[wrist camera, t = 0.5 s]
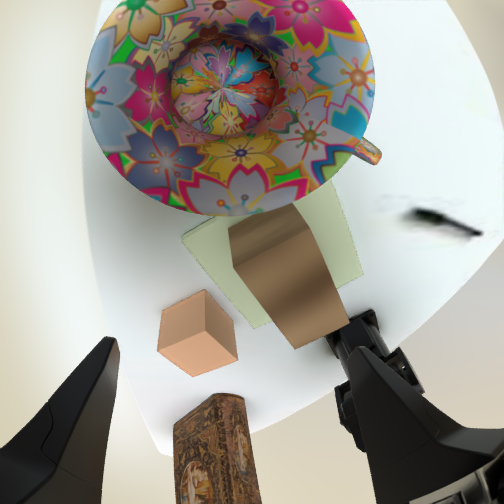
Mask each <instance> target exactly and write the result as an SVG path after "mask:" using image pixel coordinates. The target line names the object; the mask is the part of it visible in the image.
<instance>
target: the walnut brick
mask: <svg viewBox="0 0 504 504" xmlns="http://www.w3.org/2000/svg"><path fill="white" fill-rule="evenodd" d="M228 235H229V242H230V249H231V256H232V263H233V269H234V270H235V271H236V273H237V274H238V275H239V277H240V278H241V279H242V281H243V282H244V283H245V285H246V286H247V287H248V289H249V290H250V291H251V293H252V294H253V295H254V297H255V298H256V299H257V301H258V302H259V303H260V305H261V306H262V307H263V309H264V310H265V311H266V313H267V314H268V315H269V317H270V318H271V319H272V321H273V322H274V323H275V324H276V326H277V327H278V328H279V330H280V331H281V332H282V334H283V335H284V336H285V337H286V339H287V340H288V341H289V343H290V344H291V345H292V346H293V348H294V349H297V348H300V347H302V346H304V345H306V344H308V343H310V342H313V341H315V340H317V339H319V338H321V337H323V336H325V335H327V334H329V333H331V332H333V331H335V330H337V329H339V328H341V327H343V326H345V325H347V324H349V323H350V322H349V319H348V317H347V314H346V312H345V309H344V306H343V304H342V301H341V299H340V296H339V294H338V291H337V289H336V287H335V284H334V282H333V279H332V277H331V274H330V272H329V270H328V267H327V265H326V263H325V260H324V258H323V256H322V253H321V251H320V249H319V247H318V244H317V242H316V240H315V238H314V235H313V233H312V231H311V229H310V227H309V226H308V224H307V223H306V221H305V220H304V218H303V217H302V215H301V214H300V213H299V211H298V210H297V208H296V207H295V206H294V204H293V203H290V204H288V205H285V206H283V207H280V208H277V209H274V210H271V211H266V212H262V213H258V214H253V215H251V216H250V217H248V218H246V219H244V220H242V221H240V222H239V223H237V224H235V225H233V226H231V227H229V228H228Z"/></svg>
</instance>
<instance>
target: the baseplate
mask: <svg viewBox="0 0 504 504" xmlns="http://www.w3.org/2000/svg"><path fill="white" fill-rule="evenodd" d="M292 203H293V204H294V206H295V207H296V208H297V210H298V211H299V213H300V214H301V215H302V217H303V218H304V220H305V221H306V223H307V224H308V226H309V227H310V229H311V231H312V233H313V235H314V238H315V240H316V242H317V244H318V247H319V249H320V251H321V253H322V256H323V258H324V260H325V263H326V265H327V267H328V270H329V272H330V274H331V277H332V279H333V282H334V284H335V287H336V289H337V288H339V287H341V286H343V285H345V284H347V283H349V282H350V281H352V280H354V279H356V278H358V277H360V276H361V275H363V271H362V268H361V265H360V261H359V258H358V255H357V251H356V248H355V245H354V242H353V239H352V236H351V233H350V230H349V227H348V224H347V221H346V218H345V215H344V213H343V210H342V207H341V204H340V202H339V199H338V196H337V194H336V191H335V188H334V186H333V183H332V181H331V178H330V179H329V180H328V181H326V182H325V183H324V184H323V185H321V186H320V187H319V188H317V189H316V190H314V191H313V192H311V193H310V194H308V195H306V196H304V197H302V198H301V199H299V200H297V201H295V202H292ZM252 215H253V214H252ZM250 216H251V215H245V216H231V217H229V216H215V217H213V218H212V219H210V220H208V221H206V222H205V223H203V224H201V225H200V226H198V227H196V228H194V229H193V230H191V231H189V232H188V233H186V234H184V235H183V236H182V239H181V241H182V243H183V244H184V245H185V246H186V248H187V249H188V250H189V251H190V253H191V254H192V255H193V256H194V258H195V259H196V260H197V261H198V263H199V264H200V265H201V266H202V268H203V269H204V270H205V271H206V273H207V274H208V275H209V276H210V277H211V279H212V280H213V281H214V282H215V284H216V285H217V286H218V287H219V288H220V290H221V291H222V292H223V293H224V294H225V296H226V297H227V298H228V299H229V300H230V301H231V303H232V304H233V305H234V306H235V307H236V309H237V310H238V311H239V312H240V313H241V314H242V316H243V317H244V318H245V319H246V320H247V321H248V322H249V324H250V325H251V326H252V327H253V328H254V329H256V328H258V327H260V326H262V325H264V324H267V323H269V322H271V321H272V319H271V318H270V317H269V315H268V314H267V313H266V311H265V310H264V309H263V307H262V306H261V305H260V303H259V302H258V301H257V299H256V298H255V297H254V295H253V294H252V293H251V291H250V290H249V289H248V287H247V286H246V285H245V283H244V282H243V281H242V279H241V278H240V277H239V275H238V274H237V273H236V271H235V270H234V269H233V263H232V256H231V249H230V242H229V235H228V228H229V227H231V226H233V225H235V224H237V223H239V222H240V221H242V220H244V219H246V218H248V217H250Z"/></svg>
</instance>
